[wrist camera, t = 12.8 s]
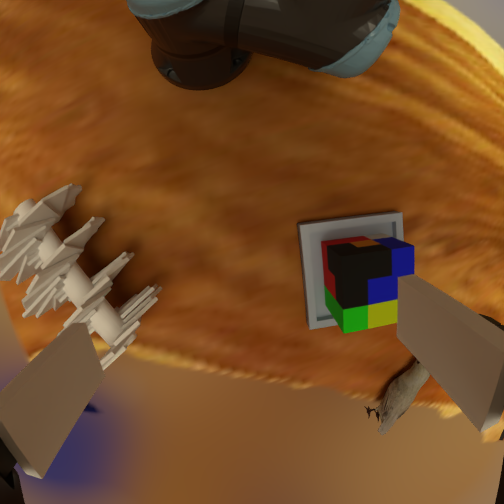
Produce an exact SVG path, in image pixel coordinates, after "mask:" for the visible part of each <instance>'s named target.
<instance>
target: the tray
mask: <svg viewBox="0 0 504 504" xmlns="http://www.w3.org/2000/svg"><path fill="white" fill-rule="evenodd" d="M297 227H298V236H299V245H300V254H301V264H302V274H303V284H304V295H305V306H306V318H307V324H308V327H309V329H310V330H311V329H317V328H323V327H328V326H334V325H338V324H337V322H336V321H335V319H334V318H333V316H332V314H331V313H330V311H329V310H328V308H327V307H326V305H325V291H324V275H323V262H322V249H321V241H327V240H334V239H342V238H350V237H357V236H365V235H373V234H380V233H384V234H386V235H389V236H391V237H394V238H396V239H399V240H401V241H404V239H403V219H402V212H397V211H392V212H383V213H375V214H366V215H358V216H350V217H342V218H334V219H326V220H318V221H311V222H303V223H297Z"/></svg>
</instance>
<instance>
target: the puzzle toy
mask: <svg viewBox="0 0 504 504" xmlns="http://www.w3.org/2000/svg"><path fill="white" fill-rule="evenodd" d="M321 249H322V262H323V275H324V291H325V305H326V307H327V308H328V310H329V311H330V313H331V314H332V316H333V318H334V319H335V321H336V322H337V324H338V325H339V327H340V329H341V330H342V332H343V333H349V332H354V331H359V330H364V329H369V328H374V327H379V326H383V325H388V324H392V323H397V316H398V277H401V276H406V275H411V274H414V246H413V245H411V244H409V243H406V242H404V241H401V240H399V239H396V238H394V237H391V236H389V235H386V234H384V233H380V234H373V235H365V236H357V237H350V238H342V239H334V240H327V241H321Z"/></svg>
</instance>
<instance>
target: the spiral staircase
mask: <svg viewBox="0 0 504 504" xmlns="http://www.w3.org/2000/svg"><path fill="white" fill-rule="evenodd" d="M81 188H82V187H81V185H77V186H76V185H74V184H72V183H70V184H69V185H68V186H67V185H66V186H64V187H62V188H60V189H59V190H57V191H55V192H53V193H51V194H50V195H48V196H46V197H44V198H42V200H40V201H39V202H38V203H37V204H36V203H35V201H34V200H33V199H28V200H26V201H24V202H22V203H21V204H20V205H19V206H18V207H17V208H16V209H15V211H14V214H13V215H12V216H10V217H7V218H5V220H4V222H3V225H2V228H1V231H0V251H3V253H2V254H0V272H1V273H0V280H2V281H10V280H11V279H12V278H13V277H14V276H15V275H16V274H17V273H18V272H19V271H20V272H19V275H18V278H17V281H16V283H17V285H18V284H20V283H21V282H23V281H24V280H26V279H28V278H29V277H31V276H32V275H34V274H36V276H35V278H34V279H33V281H32V283H31V284H30V286H29V288H28V289H27V291H26V293H27V296H26V297H25V298H23V299H22V303H23V306H24V308H25V310H26V311H25V312H24V313H23V314H22V316H23V317H24V318H26V317H28V316H31V315H34V314H36V313H37V314H36V315H35V316H36V317H37V318H38V317H40V316H41V315H43V314H44V313H45V312H47V311H48V310H50V309H51V308H53V309H54V310H55V311H56V310H57V309H58V308H59V307H60V306H61V305H63V304H64V303H65V302H66V301H68V300H69V302H70V301H72V302H73V303H74V305H75V306H76V307H77V308H78V309H77V310H76V311H75V312H74V313H73V314H72V315H71V317H70V318H69V319H68V320H67V321H66V322H65V323H64V324H63V326H64V327H65V328H64V329H63V330H62V331H60V332H59V333H58V335H57V337H58V336H59V335H60V334H61V333H62V332H63V331H64V330H65V329H66V328H67V327H68V326H70V325H71V324H72V323H82V322H86V325H87V328H88V331H89V334H92V333H93V332H94V331H96V332H97V333H98V334H99V335H100V336H101V337H102V338H103V339H104V340H105V341H106V343H107V344H108V345H109V346H110V347H111V348H110V349H109V350H108V352H107V353H106V354H105V355H104V356H103V357H102V358H101V359H100V360H99V361H100V363H101V366H102V369H103V370H105V369H106V368H107V367H108V366H109V365H110V364H111V363H112V362H113V361H114V360H115V359H116V358H117V357H118V356H120V355H121V354H122V353H123V352H124V351H125V350H126V349H127V346H128V345H129V344H130V343H131V342H132V341H133V340H134V339H135V338H136V337H137V334H136V333H135V331H136V330H137V328H138V327H139V326H140V323H141V316H142V315H143V314H144V313H145V312H146V311H147V310H148V309H149V308H150V307H151V306H152V305H153V304H154V303H155V302H156V301H157V300H158V299H157V297H155V296H156V295H157V294H158V293H159V292H160V291H161V290H162V287H161V286H160V287H159V288H157V287H158V285H157V284H155V285H154V286H153V287H152V288H150V287H149V285H148V286H147V287H146V288H145V289H144V290H143V291H142V292H141V293H139V294H138V295H137V294H135V295H134V296H133V297H131V298H130V299H129V300H128V301H127V302H126V303H125V304H123V305H122V306H121V307H120V308H118V306H117V307H116V308H113V307H112V306H111V305H110V304H109V302H108V301H107V300H106V299H105V298H104V297H105V296H106V295H107V294H108V293H109V292H110V291H111V290H112V289H111V288H110V287H111V286H112V285H113V283H112V280H113V279H114V278H115V277H116V275H117V274H118V273H119V272H120V271H121V269H122V268H123V267H124V266H125V265H126V263H127V262H128V261H129V260H130V259H131V258H132V257H133V256H134V255H135V254H134V253H133V252H132V253H129V252H123V253H122V254H121V255H120V256H119V257H118V258H116V259H115V260H114V261H113V262H111V263H110V264H109V265H108V266H106V267H105V268H104V269H103V270H101V271H100V272H98V273H97V274H95V275H94V276H92V277H91V278H88V276H87V275H86V274H85V273H84V271H83V270H82V269H81V267H80V266H79V265H78V263H77V262H76V260H77V258H78V257H79V255H80V254H81V253H82V252H83V251H84V246H85V244H86V243H87V241H88V240H89V239H90V238H91V236H92V235H93V234H94V233H96V232H97V231H98V228H99V227H100V225H101V224H102V223H103V222H104V221H105V219H104V218H103V217H92V218H91V219H90V220H89V221H88V222H87V223H86V224H85V225H84V226H83V227H82V228H81V229H79V230H78V231H77V232H75V233H74V234H72V235H71V236H69V237H68V238H67V239H65V240H64V242H63V243H62V242H61V240H60V239H59V237H58V236H57V234H56V233H55V232H54V230H53V229H52V227H51V226H52V225H54V224H55V223H57V222H59V221H60V219H61V217H62V216H63V214H64V213H65V211H66V210H67V209H69V208H70V207H72V206H73V205H75V197H76V196H77V195H78V194H79V193H80V192H81V191H82V189H81ZM156 288H157V289H156ZM155 289H156V290H155ZM154 290H155V291H154ZM153 291H154V292H153ZM152 292H153V293H152ZM151 293H152V294H151ZM143 294H144V295H143ZM149 294H151V295H149ZM142 295H143V296H142ZM148 295H149V296H148ZM141 296H142V297H141ZM147 296H148V297H147ZM146 297H147V298H146ZM145 298H146V299H145ZM144 299H145V300H144ZM143 300H144V301H143ZM142 301H143V302H142ZM140 302H142V303H140ZM133 303H134V304H133ZM139 303H140V304H139ZM132 304H133V305H132ZM138 304H139V305H138ZM131 305H132V306H131ZM137 305H138V306H137ZM136 306H137V307H136ZM135 307H136V308H135ZM134 308H135V309H134ZM133 309H134V310H133ZM132 310H133V311H132ZM129 312H130V313H129ZM128 313H129V314H128ZM121 314H122V315H121ZM127 314H128V315H127ZM120 315H121V316H120ZM126 315H127V316H126ZM125 316H126V317H125ZM124 317H125V318H124ZM123 318H124V319H123Z"/></svg>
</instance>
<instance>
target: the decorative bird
mask: <svg viewBox="0 0 504 504" xmlns="http://www.w3.org/2000/svg"><path fill="white" fill-rule="evenodd" d="M429 376H430V373H429V372H428V371H427V370H426V369H425V367H424V366H423V365H422V364H421V363H420V362H419V361H418V360H417V358H416V361H415V362H414V364H413V366H412V367H411V368H410V369H409V370H407V371H406V372H404V373H403V374H402V375H400V376H399V377H397V378H396V379H394V380H393V381H392V382H391V384H390V385H389V387H388V389H387V391H386V393H385V396H384V398H383V400H382V402H381V404H380V405H379V406H378V407H377V408H376V409H370V408H369V407H368V408H366V407H365V408H366V409H367V413H368V415H369V416H370V412H371V411H373V410H377V411H378V410H379V412H376V411H375V412H376V417H377V418H378V421H379V416H380V418H381V422H382V424H381V426H380V428H379V429H378V432H380V434H381V435H384V434H385V433H386V432H387V431H388V430H389V429H390V428H391V426H393V424H394V423H395V421H396V420H397V419H398V418H399V417H401V415H403V414H404V413H405V411H406V410H407V409H408V408H409V406H410V404H411V403H412V402H413V400H414V398H415V396H416V394H417V392H418V391H419V389H420V388H421V387H422V386H423V384H424V383H425V382H426V381H427V379H428V378H429ZM369 410H370V411H369Z"/></svg>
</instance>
